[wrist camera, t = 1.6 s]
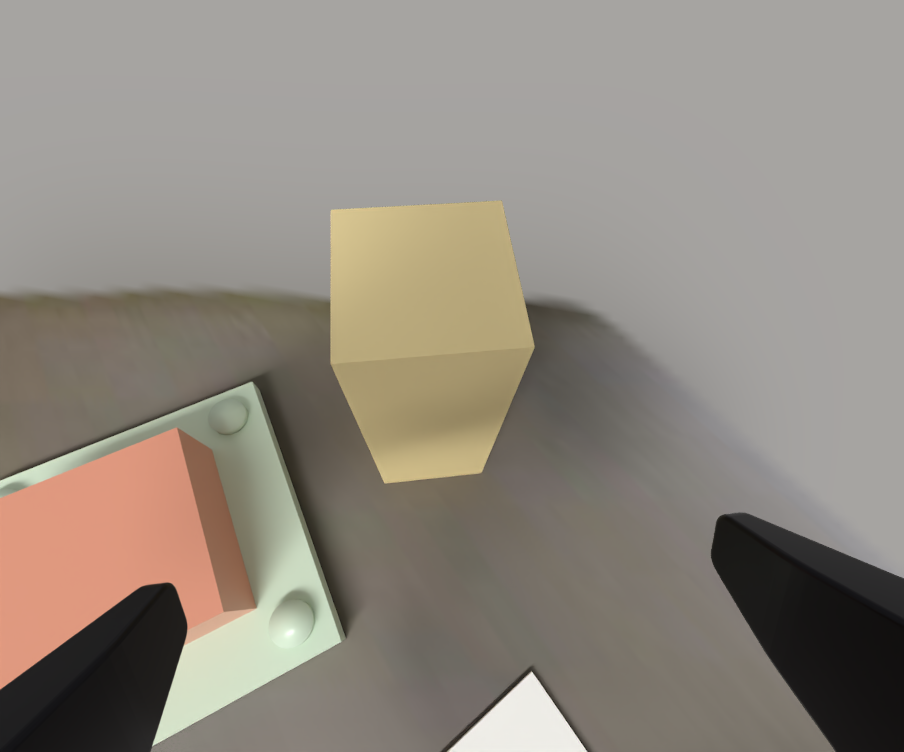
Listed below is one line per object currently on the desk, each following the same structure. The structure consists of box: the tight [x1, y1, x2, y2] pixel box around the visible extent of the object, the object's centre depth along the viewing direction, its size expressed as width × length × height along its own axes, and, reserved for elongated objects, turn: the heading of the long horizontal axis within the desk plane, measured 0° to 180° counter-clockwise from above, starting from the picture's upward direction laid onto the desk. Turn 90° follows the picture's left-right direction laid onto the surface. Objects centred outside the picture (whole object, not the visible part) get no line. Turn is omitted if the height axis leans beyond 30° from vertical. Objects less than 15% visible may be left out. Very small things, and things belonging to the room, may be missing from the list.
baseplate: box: [0, 382, 346, 746], centre depth 17 cm, size 12×12×4 cm
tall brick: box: [331, 201, 535, 483], centre depth 16 cm, size 4×4×12 cm
